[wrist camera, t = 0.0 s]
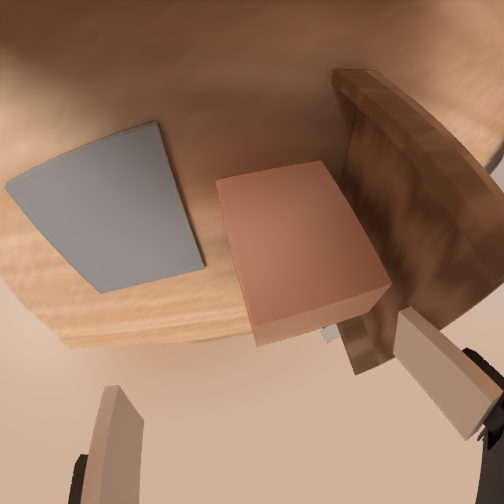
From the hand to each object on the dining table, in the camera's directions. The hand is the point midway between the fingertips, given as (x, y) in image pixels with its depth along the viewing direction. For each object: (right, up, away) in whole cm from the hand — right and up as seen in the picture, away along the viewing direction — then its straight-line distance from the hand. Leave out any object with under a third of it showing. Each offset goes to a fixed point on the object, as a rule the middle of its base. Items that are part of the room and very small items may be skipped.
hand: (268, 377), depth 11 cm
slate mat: (-13, +7, +11) cm, 19 cm away
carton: (+1, +11, +13) cm, 17 cm away
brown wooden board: (+7, +12, +13) cm, 19 cm away
